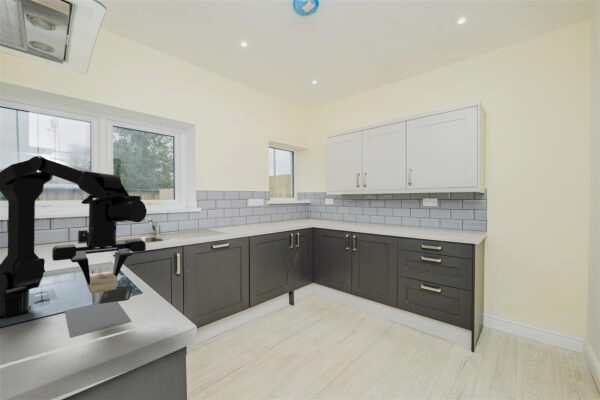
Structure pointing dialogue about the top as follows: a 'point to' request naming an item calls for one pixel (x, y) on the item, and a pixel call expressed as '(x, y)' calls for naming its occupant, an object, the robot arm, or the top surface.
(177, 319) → the top surface
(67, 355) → the top surface
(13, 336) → the top surface
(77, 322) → the mat
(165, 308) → the top surface
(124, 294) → the phone
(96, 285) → the beige wooden block
